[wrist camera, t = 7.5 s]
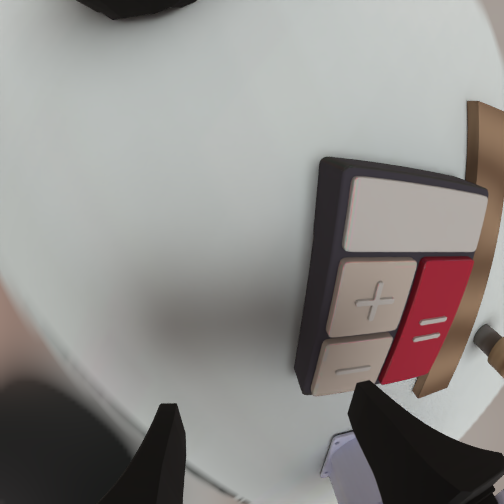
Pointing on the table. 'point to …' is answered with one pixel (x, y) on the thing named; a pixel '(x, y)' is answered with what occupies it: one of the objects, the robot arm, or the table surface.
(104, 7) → the portable speaker
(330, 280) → the calculator
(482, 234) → the board
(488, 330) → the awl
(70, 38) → the table surface
